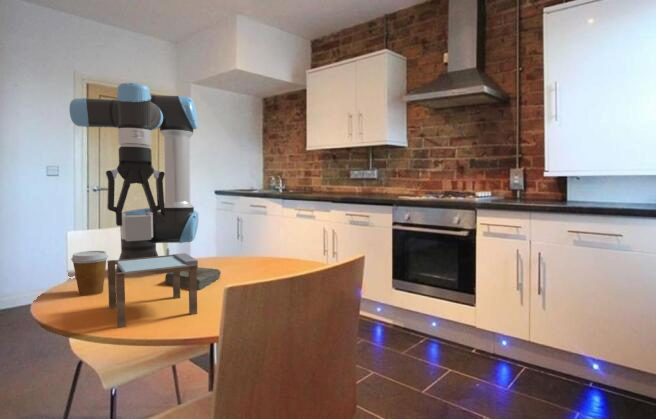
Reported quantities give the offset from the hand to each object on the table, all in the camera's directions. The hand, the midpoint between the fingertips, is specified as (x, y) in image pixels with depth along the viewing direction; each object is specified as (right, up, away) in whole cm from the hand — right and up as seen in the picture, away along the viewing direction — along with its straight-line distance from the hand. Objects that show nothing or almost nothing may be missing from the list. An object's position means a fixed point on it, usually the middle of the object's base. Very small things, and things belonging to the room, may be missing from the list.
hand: (137, 237), depth 103 cm
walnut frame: (+3, -19, +2) cm, 20 cm away
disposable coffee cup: (-22, -18, +18) cm, 34 cm away
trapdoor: (+4, -8, +3) cm, 10 cm away
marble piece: (+4, -18, +31) cm, 36 cm away
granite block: (0, 0, 0) cm, 0 cm away
